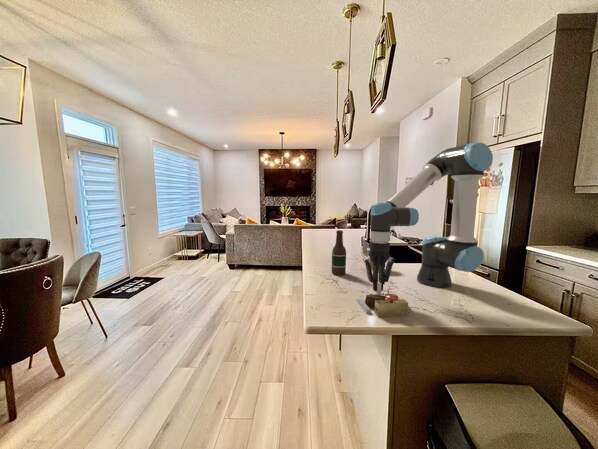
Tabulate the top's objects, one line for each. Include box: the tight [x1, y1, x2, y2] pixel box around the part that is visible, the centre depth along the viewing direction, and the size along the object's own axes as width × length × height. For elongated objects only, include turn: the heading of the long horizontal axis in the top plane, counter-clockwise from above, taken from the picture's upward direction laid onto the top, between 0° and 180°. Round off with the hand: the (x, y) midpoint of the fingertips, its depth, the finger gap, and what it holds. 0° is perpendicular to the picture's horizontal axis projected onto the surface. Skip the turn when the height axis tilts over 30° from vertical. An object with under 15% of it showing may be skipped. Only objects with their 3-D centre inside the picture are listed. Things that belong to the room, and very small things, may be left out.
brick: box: [364, 293, 388, 310], centre depth 95 cm, size 11×4×5 cm, turn 65°
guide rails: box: [356, 297, 412, 315], centre depth 96 cm, size 17×10×2 cm, turn 96°
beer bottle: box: [331, 229, 347, 276], centre depth 137 cm, size 8×8×24 cm
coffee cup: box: [366, 247, 379, 272], centre depth 147 cm, size 10×10×12 cm
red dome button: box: [374, 293, 409, 318], centre depth 89 cm, size 11×4×7 cm, turn 96°
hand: (377, 298), depth 102 cm, fingers closed
